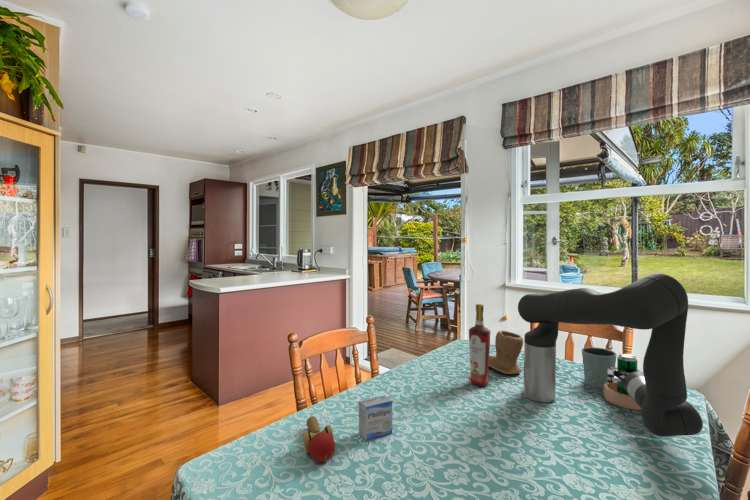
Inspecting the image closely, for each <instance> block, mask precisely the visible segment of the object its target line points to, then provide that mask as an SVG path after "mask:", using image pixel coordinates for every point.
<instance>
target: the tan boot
mask: <svg viewBox="0 0 750 500" xmlns="http://www.w3.org/2000/svg"><path fill="white" fill-rule="evenodd" d="M494 343H495V345H494V346H495V354H496V355H495V356H494V355H489V368H491V369H494V370H495V371H498V372H499V373H502V374H506V375H517V374H520V373H521V372H522V369H521V368H520V367H519V366H518V365H517V364H518V363H517V362H518V361H517V360H518V359H519V356H520V354H521V352H522V349H523V347H524V339H523V336H522V335H519V334H517V333H514V332H512V331H511V332H510V331H507V330H499V331H497V333H496V335H495V342H494Z"/></svg>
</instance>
